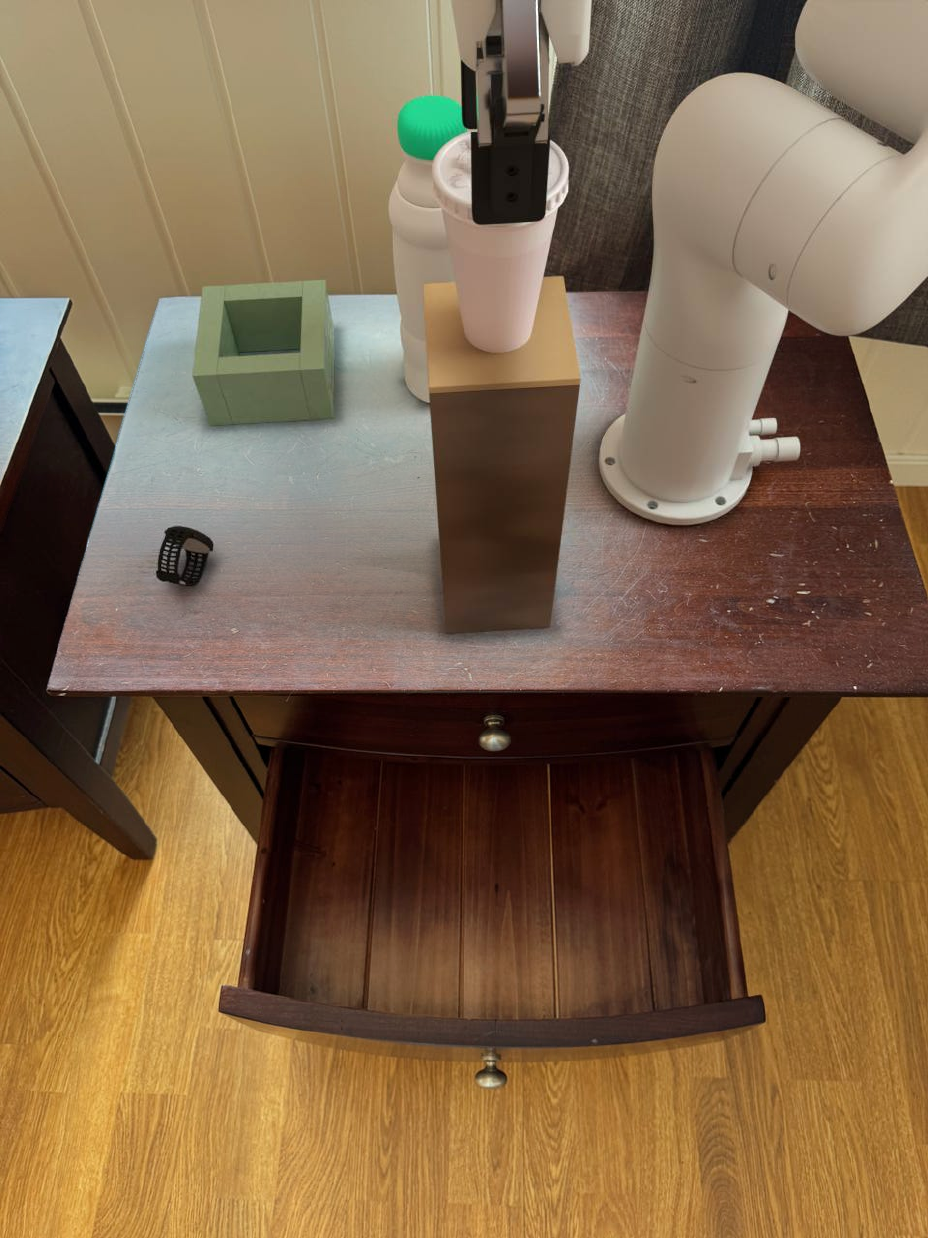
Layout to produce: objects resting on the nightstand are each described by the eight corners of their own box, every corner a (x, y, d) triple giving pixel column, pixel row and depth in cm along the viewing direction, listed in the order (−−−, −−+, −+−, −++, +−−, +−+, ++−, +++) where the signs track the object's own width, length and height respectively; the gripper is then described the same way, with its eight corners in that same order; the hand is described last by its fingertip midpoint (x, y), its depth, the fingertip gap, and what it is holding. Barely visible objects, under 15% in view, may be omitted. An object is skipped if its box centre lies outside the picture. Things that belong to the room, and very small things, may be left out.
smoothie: (546, 378, 50) (566, 123, 38) (427, 362, 51) (409, 107, 39) (564, 295, 53) (588, 35, 41) (452, 281, 54) (442, 22, 42)
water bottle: (481, 350, 87) (481, 77, 66) (485, 407, 84) (486, 139, 62) (404, 353, 87) (379, 81, 66) (405, 410, 84) (378, 143, 62)
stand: (334, 331, 89) (325, 279, 84) (333, 418, 83) (324, 368, 78) (218, 338, 89) (202, 286, 84) (210, 425, 83) (192, 375, 78)
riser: (539, 541, 76) (563, 275, 54) (550, 627, 72) (581, 378, 50) (440, 547, 76) (422, 283, 54) (445, 634, 72) (428, 387, 50)
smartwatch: (229, 565, 76) (214, 528, 71) (184, 611, 74) (165, 575, 69) (192, 541, 77) (174, 503, 73) (146, 585, 75) (125, 548, 70)
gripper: (691, -281, 24) (609, 294, 39) (598, -471, 33) (561, 60, 48) (392, -266, 24) (428, 304, 39) (380, -461, 33) (413, 68, 48)
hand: (501, 166), depth 44 cm, fingers closed on smoothie, 6 cm apart
